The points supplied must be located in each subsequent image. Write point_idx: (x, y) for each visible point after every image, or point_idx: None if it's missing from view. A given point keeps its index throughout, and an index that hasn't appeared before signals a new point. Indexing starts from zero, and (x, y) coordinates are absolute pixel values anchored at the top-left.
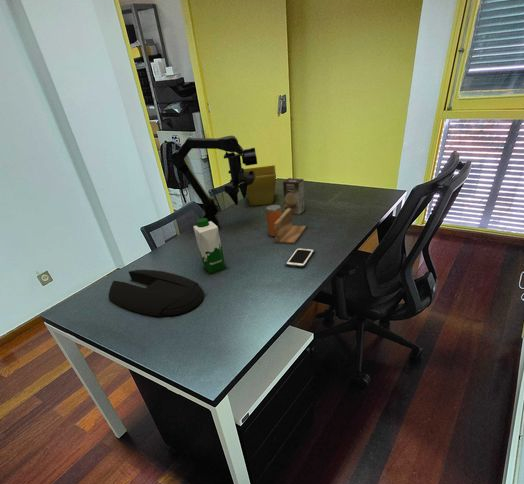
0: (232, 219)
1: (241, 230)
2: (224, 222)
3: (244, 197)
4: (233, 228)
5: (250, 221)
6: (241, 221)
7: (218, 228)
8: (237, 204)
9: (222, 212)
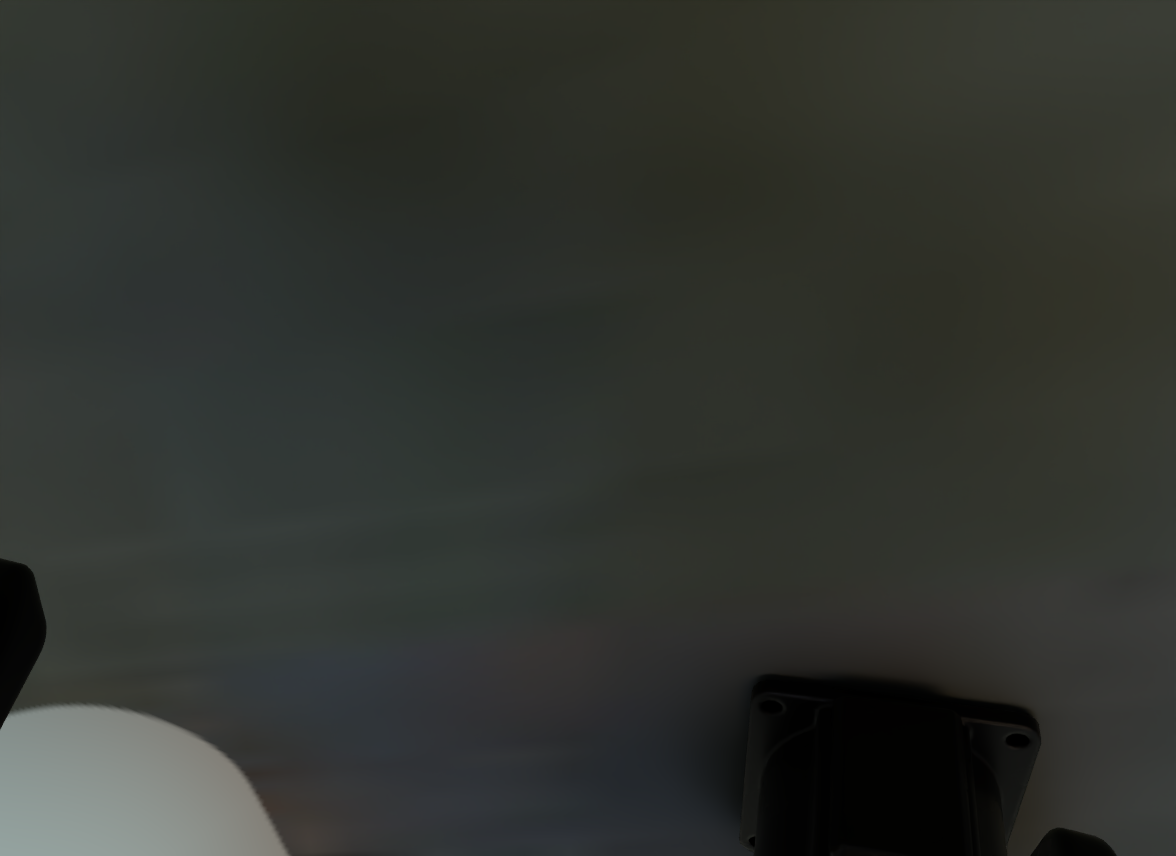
0: (343, 502)
1: (1129, 161)
2: (515, 624)
3: (14, 625)
4: (907, 404)
5: (432, 20)
6: (445, 286)
7: (875, 696)
8: (1107, 851)
9: (50, 699)
